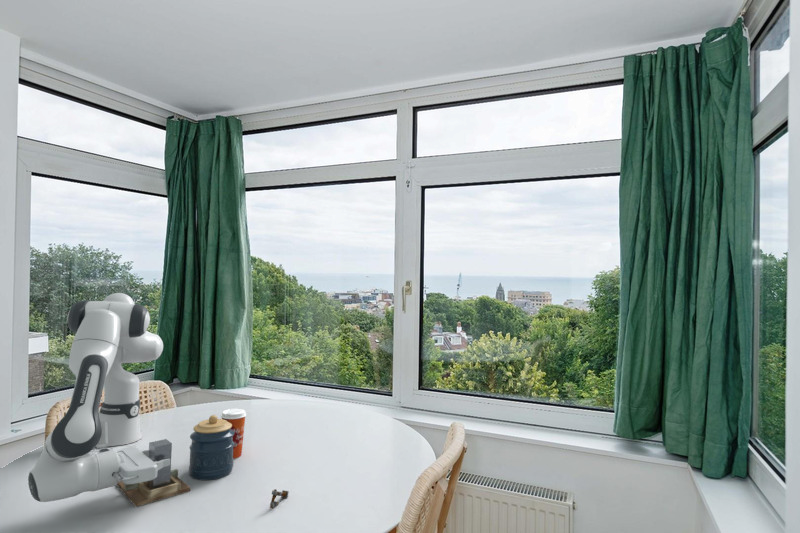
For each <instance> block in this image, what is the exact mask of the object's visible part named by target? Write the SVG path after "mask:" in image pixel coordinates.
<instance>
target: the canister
mask: <svg viewBox="0 0 800 533" xmlns="http://www.w3.org/2000/svg"><path fill="white" fill-rule="evenodd" d="M231 427H232V424H231V423H229V422H227V421H226V420H224V419H222V418H218V416H217V415H216V414H212V415H210V416H209V418H208V419H205V420H201V421H200V422H198V423H197V424H196V425H194V426H193V428H192V430H193V432H192V433H191V434H190V435H189V439H190V440H191V444H190V445H189V465H188V472H189V474H188V475H189V476H190V478H192V479H195V480H200V481H211V480H217V479H221V478H224V477H225V476H229V475H230V473H232V471H233V468H234V459H233V446H234V441H233V435H234V434H235V432H234V430H232V429H231Z"/></svg>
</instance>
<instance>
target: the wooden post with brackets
mask: <svg viewBox="0 0 800 533" xmlns="http://www.w3.org/2000/svg"><path fill="white" fill-rule="evenodd" d="M289 492H290V491H289V490H282V491H277V488H276V489H273V490H272V491H271V495H272V497H271V501H270V504H269V508H270V509H273V508H274V506H275V507H277V506H278V505H279V501H275V500H276V498H277V496H278V497H281V498H283V499H285V498H286V499H287V498H288V497H289Z"/></svg>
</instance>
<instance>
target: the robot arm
mask: <svg viewBox="0 0 800 533" xmlns="http://www.w3.org/2000/svg"><path fill="white" fill-rule="evenodd" d="M66 316H67V320H66V321H67V327H68V329H69V330H70V331H71V332H72V333H75V336H74V338H73V341H72V344H71V347H70V353H69V356H68V358H69V359H68V368H69V370H70V371H71V372H72V373H73V374H74V375H75V384H74V387H73V392H72V395H71V398H70V399H71V400H70V403H69V406H68V409H67V411H66V413H65V414H64V416H63V417H62V418H61V419H60V420H59V421H58V423H57V424H56V426H55V427H54V429H52V430H51V432H50V433H49V434H48V436H47V437H46V439H45V441H44V445H43V447H42V450H41V453H40V455H39V458H38V460H37V461H36V463H35V465H34V467H33V468H32V470H30V472H28V479H27V480H28V488H29V491H30V492H29V493H30V495H31V497H32V498H33V499H34V500H35V501H37V502H40V503H48V502H54V501H56V502H57V501H61V500H65V499H69V498H72V497H76V496H78V495H80V494H83V493H86V492H96V491H100V490H101V491H102V490H103V489H108V488H113V487H116V486H117V483H118V482H121V481H122V482H123V483H125V484H136V483H141V482H146V481H150V480H153V479H155V478H156V477H157V471H158V470H160V469H161V468H163V467H166V466H169V465H170V459H169V458H164V459H162V460H161V461H158V462H157V461H155V462H153V461H152V460H151V459H150V458H149V449H139V448H138V447H137V446H135V445H128V444H132V443H135V442H137V441H140V440H141V439H142V438H143V433H142V428H141V420H140V409H141V399H140V382H141V381H140V378H139V377H138V376H137V375H136V374H134V373H133V372H130V371H128V370H126V369H124V368H123V366H122V364H135V363H139V364H140V363H147V362H152V361H156V360H158V359H159V358H160V357H161V355H162V353H163V351H164V342H163V340H162V338H161V337H160V335H159V334H157V333H152V332H150V331H148V328H149V325H150V323H151V317H150V313H149V308H147V307H146V306H144V305H141V304H139V303H136V302H134V300H133V298H132V297H131V296H129V295H128V294H127V293H122V292H115V293H111V294H109V295H108V296H106V297H105V298H104V299H103V300H89V299H86V300H78V301H76V302H75V303H73V304H72V305H71V307H70V309H69V311H68V314H67V315H66ZM103 391H104V396H103V397H104V400H103V402H101V399H102V395H103ZM99 408H100V409H99ZM108 447H111V448H108ZM95 448H96V449H97V448H98V451H97V453H95V454H90V452H91V451H92V450H93V449H95Z"/></svg>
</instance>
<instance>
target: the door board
mask: <svg viewBox="0 0 800 533" xmlns="http://www.w3.org/2000/svg"><path fill="white" fill-rule="evenodd" d="M117 485H118V486H117ZM117 485H116V486H117V487H118V488H119V489H120V490H121V492H122V493H123V492H124V493H125V494H124V493H123V494H124V495H125V496H126V497H127V499H129V500H130V501H132V502H131V503H132V504H133V505H134V506H135V507H140V506H143V505H146V504H150V503H153V502H154V503H155V502H157V501H160V500H164V499H168V498H171V497H174V496H177V495H182V494H184V493H188V492H191V487H190V486H189V485H188V484H187V483H186V482H185V481H183V480H182V479H181V478H180V477H179V469H177V468H176V469H171V477H170V485H167V486H164V487H160V488H156V489H153V490H150V489H149V488H148V487H147V481H146V482H141V483H136V484H125V483H123V482H122V481H121V482H118V483H117Z"/></svg>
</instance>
